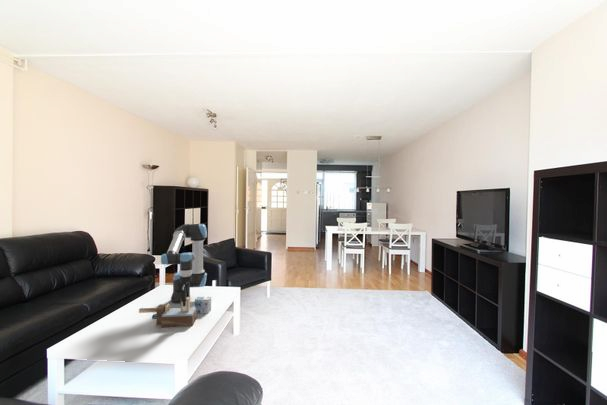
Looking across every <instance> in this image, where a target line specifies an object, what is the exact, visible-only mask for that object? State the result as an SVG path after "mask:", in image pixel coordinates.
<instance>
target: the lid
mask: <svg viewBox="0 0 607 405" xmlns="http://www.w3.org/2000/svg"><path fill="white" fill-rule="evenodd" d="M186 301H187V310H186V311H182V302H181V303H180V307H177V308H173V307H172V308H170V306H171V305H170V304H171V303H167V304H166V306H165V312H164V313H163V314H162V317H175V316H192V315H193V313H194V312H195V310H196V308H195V307H191V296H190V297H186Z"/></svg>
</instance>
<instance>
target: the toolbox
mask: <svg viewBox="0 0 607 405" xmlns="http://www.w3.org/2000/svg"><path fill="white" fill-rule="evenodd" d="M166 305H167V304H166V303H164V304H158V306H157V307H156V308H157V312H156V326H157V327H159V326H160V328H180V327H181V328H182V327H185V328H186V327H193V326H194V324H195V322H196V320H197V313H196V310H195V312H194V313H193V315H192V316H175V317H162V314H163V313H164V312H165V306H166Z"/></svg>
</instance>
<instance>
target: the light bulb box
mask: <svg viewBox="0 0 607 405" xmlns="http://www.w3.org/2000/svg"><path fill="white" fill-rule="evenodd" d="M194 308H196V314H204V315H205V314H207V315H208V314H209V313H210V312H211V311H212V296H201V295H200V296H199V295H198V296H197V297H196V298H195V299H194Z"/></svg>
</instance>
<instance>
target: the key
mask: <svg viewBox="0 0 607 405" xmlns="http://www.w3.org/2000/svg"><path fill="white" fill-rule="evenodd" d="M138 313H139V314H143V313H145V314H146V313H157V307H146V308H144V307H142V308H138Z"/></svg>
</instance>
